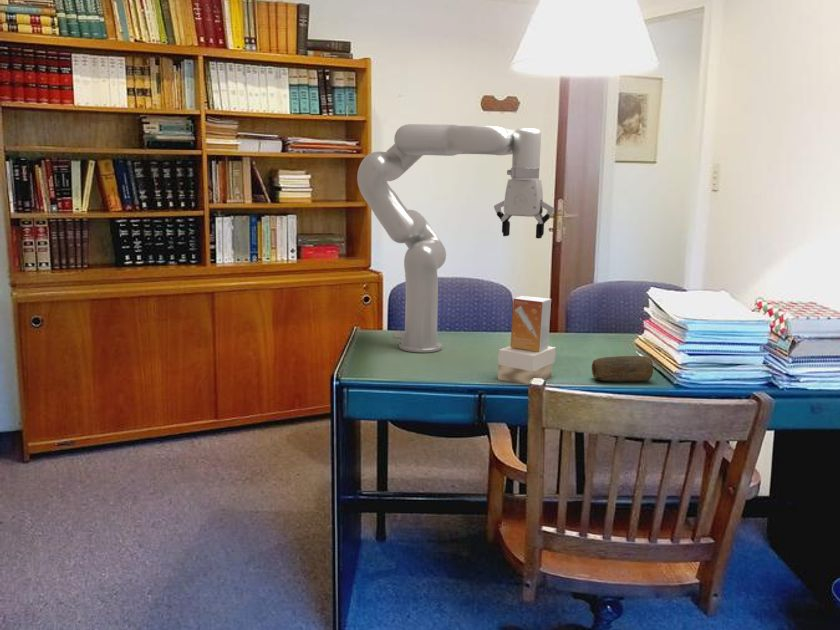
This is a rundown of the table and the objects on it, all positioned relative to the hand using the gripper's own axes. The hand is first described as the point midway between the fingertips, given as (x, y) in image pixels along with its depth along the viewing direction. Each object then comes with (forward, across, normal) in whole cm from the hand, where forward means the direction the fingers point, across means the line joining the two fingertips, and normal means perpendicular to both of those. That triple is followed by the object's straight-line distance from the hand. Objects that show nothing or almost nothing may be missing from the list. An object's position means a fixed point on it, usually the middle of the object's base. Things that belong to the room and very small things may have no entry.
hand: (522, 237), depth 215 cm
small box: (+27, +10, -19) cm, 34 cm away
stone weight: (+35, +32, -9) cm, 48 cm away
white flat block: (+31, +10, -19) cm, 38 cm away
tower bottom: (+35, +10, -19) cm, 41 cm away
